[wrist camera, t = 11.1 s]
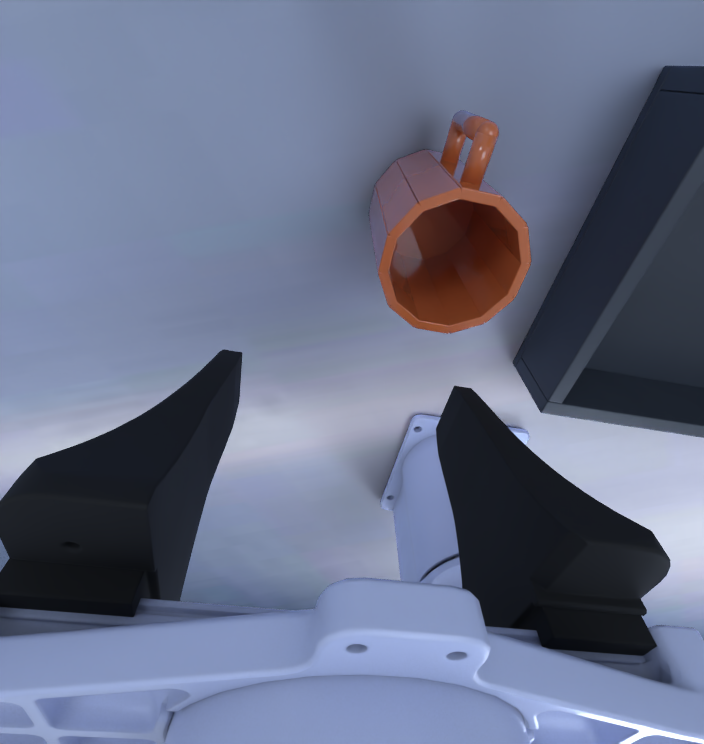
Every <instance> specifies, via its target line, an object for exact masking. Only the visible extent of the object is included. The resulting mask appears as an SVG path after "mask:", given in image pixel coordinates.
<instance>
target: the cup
mask: <svg viewBox="0 0 704 744" xmlns="http://www.w3.org/2000/svg"><path fill="white" fill-rule="evenodd" d="M498 135H499V128H498V126H497V124H496V123H494V122H492V121H490V120H488V119H485V118H483V117H480V116H478V115H475V114H473V113H470V112H468V111H465V110H460V111H458V112H457V113H456V114H455V115H454V116H453V119H452V122H451V126H450V129H449V133H448V136H447V139H446V143H445V146H444V150H443V153H441V152H437V151H433V150H428V149H426V150H425V149H424V150H421V151H419V152H416V153H413V154H410V155H408V156H405V157H402V158H399V159H397V161H394V163H393V164H392V165H391V166H390V167H389V168H388V170H387V171H386V172H385V173H384V174H383V175H382V177H381V178H380V179H379V180H378V181H377V182H376V185H375V186H374V191H373V196H372V200H371V205H370V209H369V220H370V226H371V232H372V239H373V245H374V251H375V257H376V264H377V270H378V275H379V279H380V282H381V285H382V288H383V291H384V294H385V297H386V301H387V304H388V306H389V307H390V308H391V309H392V310H393V311H395V312H396V313H397V314H398V315H399V316H401V317H402V318H403V319H404V320H406V321H407V322H408V323H409V324H410V325H412V326H413V327H415V328H418V329H424V330H430V331H436V332H441V333H447V334H448V333H454V332H457V331H461V330H464V329H468V328H471V327H475V326H478V325H482V324H484V322H485V323H486V322H487V321H489V320H490V319H491V318H492V317H493V316H495V315H496V314H497V313H498V312H499V311H501V310H502V309H503V308H504V307H505V306H507V305H508V304H509V303H510V302H511V301H513V300H514V298H515V297H516V295H517V293H518V291H519V289H520V286H521V284H522V282H523V280H524V278H525V276H526V274H527V271H528V269H529V267H530V265H531V264H530V263H531V253H530V242H529V231H528V226H527V223H526V222H525V221H524V220H523V219H522V217H521V216H520V215H519V214H518V213H517V212H516V211H515V210H514V208H513V207H512V206H511V205H510V204H509V203H508V202H507V200H506V199H505V198H504V197H503V196H502V195H501V194H499V193H498V192H497V191H496V190H495V189H493V188H492V187H491V186H490V185H489V184H488V183H486V182H485V181H484V180H483V178H484V175H485V172H486V169H487V167H488V164H489V161H490V158H491V155H492V153H493V150H494V147H495V144H496V141H497V139H498ZM466 137H468V138H470V139H471V140H473V142H472V145H471V148H470V152H469V155H468V158H467V161H466V164H464V163H463V162H462V161H461V160H459V158H460V155H461V152H462V149H463V145H464V142H465V139H466Z"/></svg>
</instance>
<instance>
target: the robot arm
mask: <svg viewBox="0 0 704 744" xmlns="http://www.w3.org/2000/svg"><path fill="white" fill-rule="evenodd" d="M241 366H242V352H235V351H229V350H222V351H220V352H219V353H218V354H217V355H216V356H215V357H214V358H213V359H212V360H211V361H210V362H209V363H208V364H207V365H206V366H205V367H204V368H203V369H202V370H201V371H200V372H198V373H197V374H196V375H195V376H194V377H193V378H192V379H190V380H189V381H188V382H187V383H186V384H185V385H183V386H182V387H181V388H179V389H178V390H177V391H176V392H174V393H173V394H172V395H170V396H169V397H168V398H166V399H165V400H163V401H162V402H161V403H159V404H158V405H156V406H155V407H153V408H152V409H150V410H148V411H147V412H145V413H144V414H142V415H140V416H138V417H137V418H135V419H133V420H131V421H129V422H127V423H125V424H123V425H121V426H119V427H118V428H116V429H114V430H111V431H109V432H107V433H105V434H103V435H100V436H98V437H96V438H93V439H91V440H88V441H86V442H83V443H81V444H78V445H76V446H73V447H70V448H67V449H64V450H61V451H58V452H55V453H52V454H49V455H46V456H43V457H40V458H37V459H35V461H34V462H33V463H32V464H31V465H30V466H29V467H28V468H27V469H26V470H25V471H24V472H23V473H22V474H21V476H20V477H19V478H18V479H17V480H16V482H15V483H14V484H13V485H12V487H11V488H10V489H9V491H8V492H7V493H6V494H5V496H4V497H3V498H2V500H1V501H0V538H1V540H2V543H3V545H4V547H5V549H6V551H7V553H8V555H9V557H10V559H9V560H8V562H7V563H6V564H5V566H4V567H3V569H2V570H1V572H0V744H704V640H703V638H702V637H701V635H700V633H699V632H698V630H697V629H694V628H689V627H678V626H666V625H656V626H652V627H649V628H647V626H646V624H645V622H644V620H643V618H642V617H641V615H642V616H644V615H645V614H646V611H647V610H646V608H645V606H644V604H643V602H642V601H641V598H642V597H643V596H644V595H645V594H647V593H648V592H649V591H650V590H651V589H652V588H654V587H655V586H656V585H657V584H658V583H660V582H661V581H662V580H663V578H664V577H665V576H666V575H667V573H668V571H669V568H670V559H669V557H668V556H667V554H666V553H665V551H664V549H663V548H662V546H661V545H660V543H659V542H658V540H657V539H656V537H655V536H654V534H653V532H652V531H650V530H649V529H647V528H645V527H643V526H641V525H639V524H637V523H635V522H634V521H632V520H630V519H628V518H626V517H624V516H622V515H621V514H619V513H617V512H615V511H613V510H612V509H610V508H609V507H607V506H605V505H604V504H602V503H600V502H599V501H597V500H595V499H594V498H592V497H591V496H589V495H588V494H586V493H585V492H583V491H582V490H580V489H579V488H578V487H576V486H575V485H573V484H572V483H571V482H569V481H568V480H566V479H565V478H564V477H562V476H561V475H560V474H558V473H557V472H556V471H555V470H553V469H552V468H551V467H550V466H549V465H547V464H546V463H545V462H544V461H542V460H541V459H540V458H539V457H538V456H537V455H536V454H534V453H533V452H532V451H531V450H530V449H529V448H528V447H527V446H526V445H525V444H526V443H527V441H528V440H529V437H530V436H529V433H528V432H527V431H526V430H524V429H518V428H511V427H507V426H506V425H505V424H504V423H503V422H502V421H501V420H500V419H499V418H498V417H497V415H496V414H495V413H494V412H493V411H492V410H491V409H490V408H489V407H488V406H487V404H486V403H485V402H484V401H483V400H482V399H481V398H480V397H479V396H478V395H477V394H476V393H475V392H474V391H473V390H472V389H471V388H465V387H459V386H454V388H453V390H452V392H451V395H450V397H449V399H448V402H447V404H446V406H445V409H444V411H443V413H442V415H441V417H436V416H429V415H422V414H418V415H415V416H414V417H413V418H412V420H411V423H410V425H409V428H408V430H407V433H406V436H405V438H404V441H403V444H402V446H401V449H400V451H399V454H398V457H397V459H396V462H395V465H394V467H393V470H392V472H391V475H390V478H389V480H388V483H387V486H386V488H385V491H384V493H383V496H382V499H381V501H380V505H381V508H382V509H385V510H392V511H393V513H394V523H395V532H396V541H397V550H398V559H399V569H400V578H401V581H397V580H386V579H375V578H346V579H344V580H341V581H338V582H336V583H333V584H331V585H329V586H328V587H327V588H326V589H325V590H324V592H323V593H322V594H321V595H320V596H319V598H318V601H317V605H316V608H315V609H306V610H294V611H292V610H280V609H267V608H255V607H243V606H231V605H218V604H206V603H194V602H182V601H180V597H181V593H182V589H183V585H184V580H185V577H186V573H187V569H188V565H189V561H190V557H191V553H192V549H193V545H194V541H195V537H196V533H197V530H198V526H199V522H200V518H201V515H202V511H203V507H204V504H205V500H206V496H207V493H208V490H209V487H210V484H211V481H212V479H213V476H214V474H215V471H216V469H217V466H218V464H219V461H220V459H221V456H222V453H223V451H224V448H225V446H226V443H227V441H228V438H229V435H230V433H231V430H232V428H233V424H234V420H235V416H236V412H237V408H238V404H239V397H240V381H241ZM415 427H419V428H415Z"/></svg>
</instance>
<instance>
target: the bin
mask: <svg viewBox="0 0 704 744" xmlns="http://www.w3.org/2000/svg"><path fill="white" fill-rule="evenodd" d="M513 364H514V366H515V367H516V369H517V371H518V373H519V375H520V376H521V378H522V380H523V382H524V384H525V385H526V387H527V389H528V391H529V393H530V394H531V396H532V398H533V400H534V401H535V403H536V405H537V407H538V409H539V410H540V412H541V413H545V414H552V415H558V416H565V417H571V418H578V419H584V420H591V421H597V422H604V423H611V424H617V425H624V426H630V427H637V428H643V429H650V430H657V431H663V432H670V433H676V434H683V435H689V436H696V437H702V438H704V66H665V67H664V69H663V70H662V72H661V74H660V76H659V78H658V80H657V82H656V84H655V86H654V88H653V90H652V92H651V94H650V96H649V98H648V100H647V102H646V104H645V106H644V108H643V109H642V111H641V113H640V115H639V117H638V119H637V121H636V123H635V125H634V127H633V129H632V131H631V133H630V135H629V137H628V139H627V141H626V143H625V145H624V147H623V149H622V150H621V152H620V154H619V156H618V158H617V160H616V162H615V164H614V166H613V168H612V170H611V172H610V174H609V176H608V178H607V180H606V182H605V184H604V186H603V188H602V190H601V191H600V193H599V195H598V197H597V199H596V201H595V203H594V205H593V207H592V209H591V211H590V213H589V215H588V217H587V219H586V221H585V223H584V225H583V227H582V229H581V230H580V232H579V234H578V236H577V238H576V240H575V242H574V244H573V246H572V248H571V250H570V252H569V254H568V256H567V258H566V260H565V262H564V264H563V266H562V268H561V270H560V271H559V273H558V275H557V277H556V279H555V281H554V283H553V285H552V287H551V289H550V291H549V293H548V295H547V297H546V299H545V301H544V303H543V305H542V307H541V309H540V310H539V312H538V314H537V316H536V318H535V320H534V322H533V324H532V326H531V328H530V330H529V332H528V334H527V336H526V338H525V340H524V342H523V344H522V346H521V348H520V350H519V351H518V353H517V355H516V357H515V359H514V361H513Z"/></svg>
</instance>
